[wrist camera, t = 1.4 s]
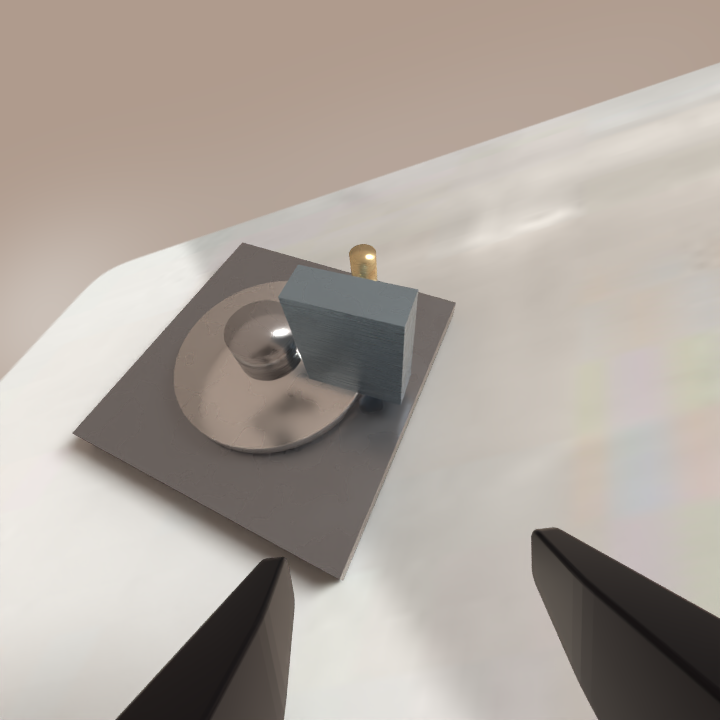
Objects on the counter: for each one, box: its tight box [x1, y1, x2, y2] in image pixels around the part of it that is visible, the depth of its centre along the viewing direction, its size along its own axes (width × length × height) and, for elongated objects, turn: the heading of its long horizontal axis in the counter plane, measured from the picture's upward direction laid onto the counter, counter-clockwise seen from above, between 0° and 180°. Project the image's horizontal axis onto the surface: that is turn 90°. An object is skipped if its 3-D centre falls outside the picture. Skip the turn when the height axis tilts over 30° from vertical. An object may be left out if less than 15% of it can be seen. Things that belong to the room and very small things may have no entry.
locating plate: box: [73, 243, 455, 580], centre depth 22 cm, size 18×18×6 cm
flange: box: [174, 265, 418, 453], centre depth 20 cm, size 14×12×8 cm
